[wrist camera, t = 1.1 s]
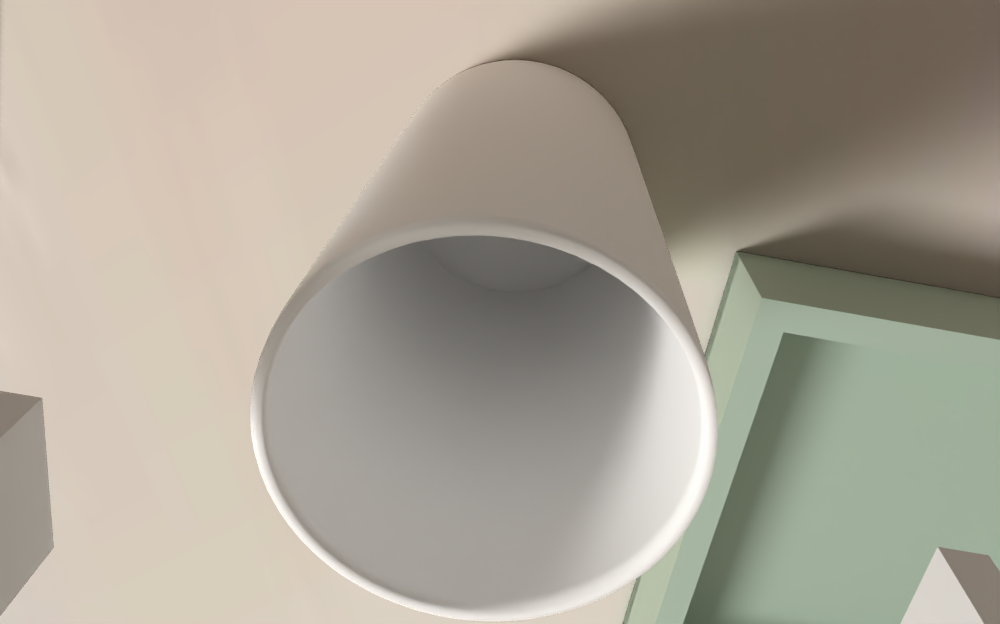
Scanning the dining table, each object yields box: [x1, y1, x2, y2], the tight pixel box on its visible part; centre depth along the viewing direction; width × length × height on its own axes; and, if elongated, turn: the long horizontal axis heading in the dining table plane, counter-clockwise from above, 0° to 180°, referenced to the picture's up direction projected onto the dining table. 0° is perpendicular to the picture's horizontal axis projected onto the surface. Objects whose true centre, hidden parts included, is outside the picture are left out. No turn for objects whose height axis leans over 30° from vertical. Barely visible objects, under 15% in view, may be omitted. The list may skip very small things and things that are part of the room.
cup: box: [250, 60, 718, 621], centre depth 22 cm, size 8×8×16 cm
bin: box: [623, 251, 1000, 624], centre depth 32 cm, size 18×18×4 cm
